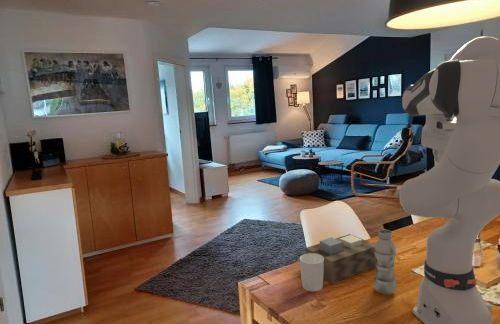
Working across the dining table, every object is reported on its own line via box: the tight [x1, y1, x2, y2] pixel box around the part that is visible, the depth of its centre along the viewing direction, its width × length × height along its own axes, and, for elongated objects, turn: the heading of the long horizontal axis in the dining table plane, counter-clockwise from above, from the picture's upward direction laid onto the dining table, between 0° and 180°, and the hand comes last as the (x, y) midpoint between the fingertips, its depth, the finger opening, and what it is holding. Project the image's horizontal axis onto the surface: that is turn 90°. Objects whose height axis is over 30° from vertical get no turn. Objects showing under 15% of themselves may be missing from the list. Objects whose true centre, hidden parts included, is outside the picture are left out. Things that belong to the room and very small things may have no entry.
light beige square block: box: [340, 234, 363, 249], centre depth 132 cm, size 6×6×4 cm
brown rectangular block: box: [305, 233, 376, 285], centre depth 131 cm, size 22×14×8 cm, turn 120°
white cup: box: [299, 253, 324, 292], centre depth 119 cm, size 8×8×10 cm
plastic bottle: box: [373, 229, 397, 296], centre depth 112 cm, size 6×7×20 cm
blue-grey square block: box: [319, 237, 343, 255], centre depth 128 cm, size 6×6×4 cm
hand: (438, 162), depth 125 cm, fingers closed
